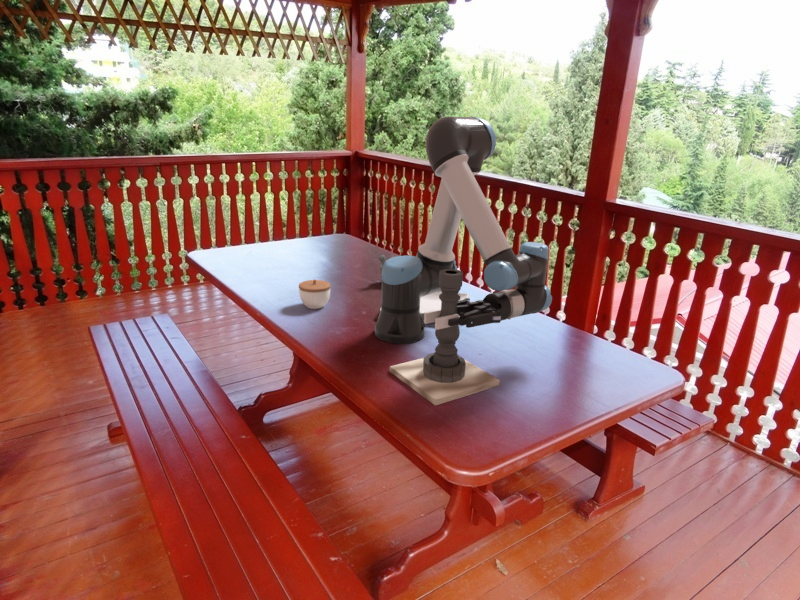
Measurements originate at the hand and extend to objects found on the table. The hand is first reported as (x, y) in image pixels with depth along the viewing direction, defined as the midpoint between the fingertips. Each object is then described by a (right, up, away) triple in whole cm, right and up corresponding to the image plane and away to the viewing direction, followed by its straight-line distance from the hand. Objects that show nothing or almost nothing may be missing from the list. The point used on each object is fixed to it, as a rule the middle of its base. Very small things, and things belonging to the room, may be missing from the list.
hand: (430, 321), depth 131 cm
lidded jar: (-37, +3, +57) cm, 67 cm away
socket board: (+4, -15, +9) cm, 18 cm away
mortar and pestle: (-11, +11, +84) cm, 85 cm away
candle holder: (+4, -12, +7) cm, 15 cm away
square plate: (+2, +1, +57) cm, 57 cm away
